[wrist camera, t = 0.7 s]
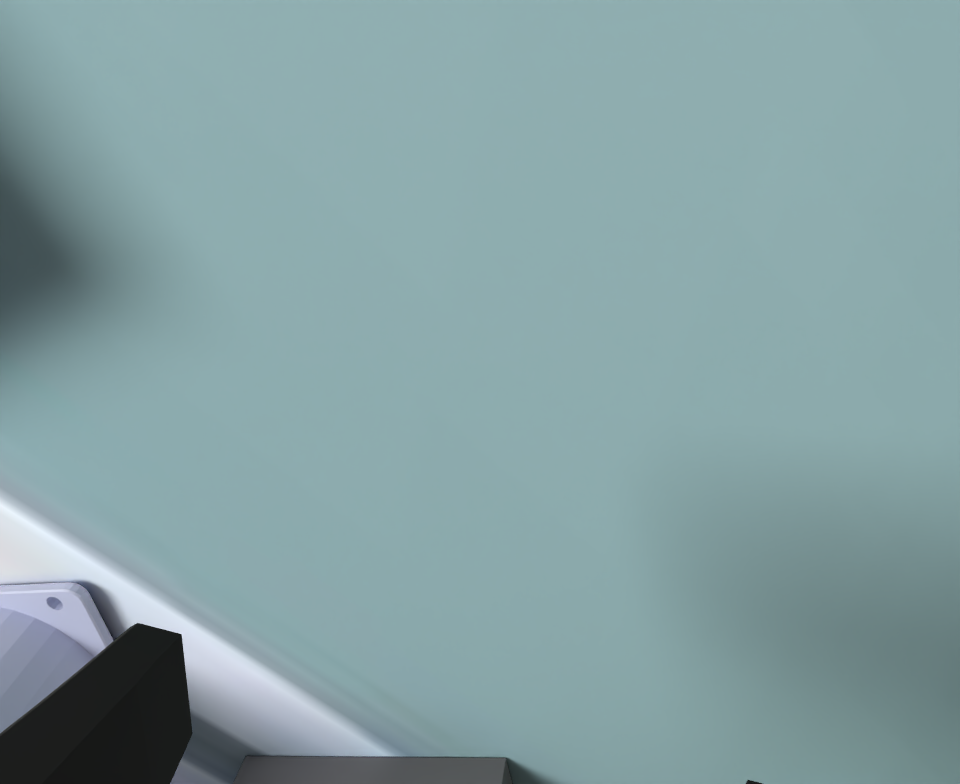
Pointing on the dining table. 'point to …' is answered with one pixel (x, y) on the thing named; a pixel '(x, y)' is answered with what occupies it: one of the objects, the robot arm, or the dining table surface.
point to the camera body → (372, 770)
